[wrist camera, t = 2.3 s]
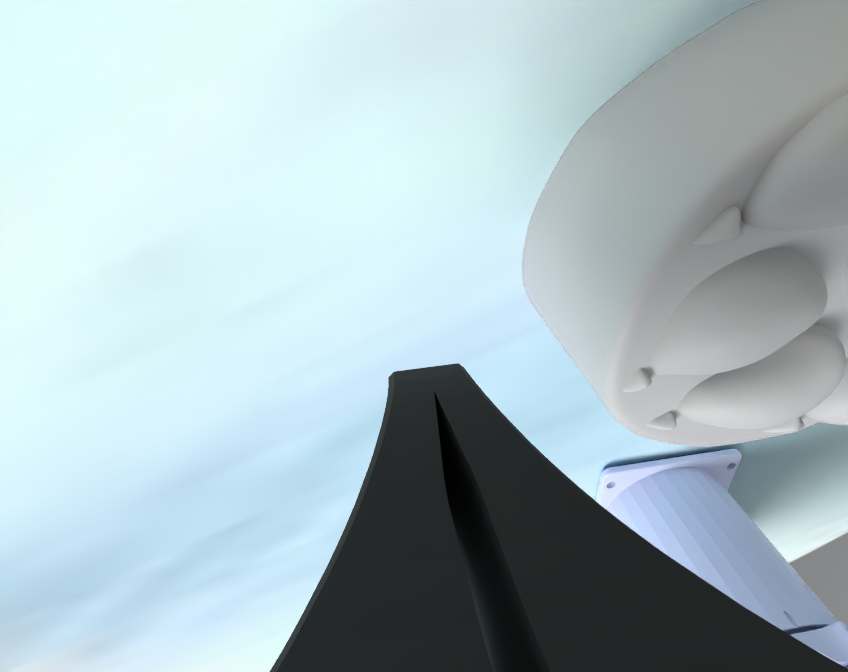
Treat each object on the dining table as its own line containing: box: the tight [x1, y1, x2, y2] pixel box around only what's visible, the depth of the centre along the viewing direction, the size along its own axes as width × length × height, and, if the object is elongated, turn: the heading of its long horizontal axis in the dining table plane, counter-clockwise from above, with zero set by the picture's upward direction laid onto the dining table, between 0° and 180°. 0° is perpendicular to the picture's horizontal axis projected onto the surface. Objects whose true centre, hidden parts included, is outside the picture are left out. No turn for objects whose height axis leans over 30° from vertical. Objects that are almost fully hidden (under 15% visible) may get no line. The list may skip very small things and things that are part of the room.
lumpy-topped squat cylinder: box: [522, 0, 848, 447], centre depth 14 cm, size 10×13×9 cm
